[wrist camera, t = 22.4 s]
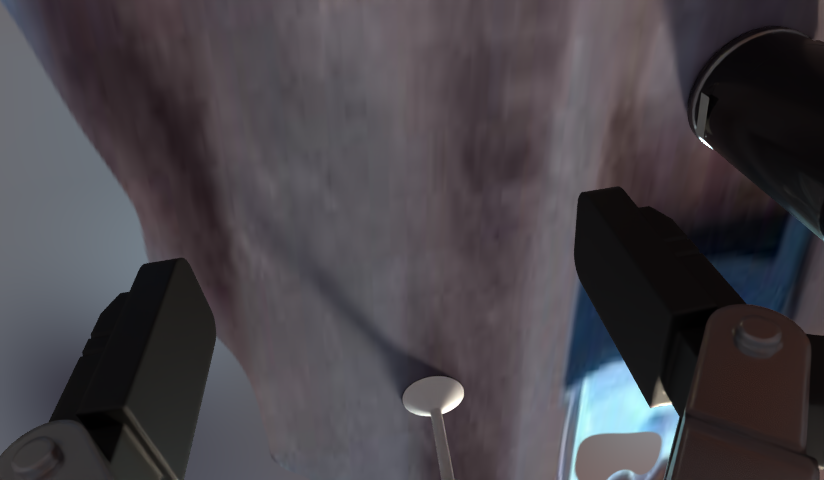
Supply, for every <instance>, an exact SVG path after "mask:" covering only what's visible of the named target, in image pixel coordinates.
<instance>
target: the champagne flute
mask: <svg viewBox="0 0 824 480" xmlns="http://www.w3.org/2000/svg"><path fill="white" fill-rule="evenodd" d="M463 396H464V390H463V387H462V385H461V384H460V383H459V382H458V381H456V380H454V379H452V378H449V377H444V376H433V377H427V378H423V379H421V380H418V381H416V382H415V383H413V384H412V385H410V386H409V387H408V388H407V389H406V390H405V392H404V394H403V398H402V400H403V404H404V406H405V408H406V409H407V410H409V411H410V412H412V413H414V414H417V415H422V416H431V419H432V425H433V431H434V437H435V443H436V449H437V455H438V461H439V467H440V473H441V479H442V480H457V479H454V475H453V470H452V465H451V459H450V454H449V449H448V443H447V438H446V432H445V427H444V422H443V416H442V414H443V413H446V412H448V411H450V410H452V409H454V408H455V407H456V406H457V405H458V404H459V403H460V402H461V401H462V399H463Z"/></svg>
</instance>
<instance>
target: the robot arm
mask: <svg viewBox="0 0 824 480" xmlns="http://www.w3.org/2000/svg"><path fill="white" fill-rule="evenodd" d="M687 113H688V121H689V124H690V127H691V129H692V131H693V133H694V134H695V135H696V136H697V137H698V138H699V139H700V140H701V141H702V142H703V143H705V144H706V145H707V146H709V147H710V148H712V149H714V150H715V151H716V152H718V153H719V154H720V155H721V156H722V157H724V158H725V159H726V160H727V161H728V162H729V163H730V164H732V165H733V166H734V167H735V168H736V169H738V170H739V171H740V172H741V173H742V174H744V175H745V176H746V177H747V178H748V179H750V180H751V181H752V182H753V183H755V184H756V185H757V186H758V187H759V188H761V189H762V190H763V191H764V192H765V193H767V194H768V195H769V196H770V197H771V198H773V199H774V200H775V201H776V202H777V203H779V204H780V205H781V206H782V207H783V208H785V209H786V210H787V211H788V212H790V213H791V214H792V215H793V216H794V217H796V218H797V219H798V220H799V221H800V222H802V223H803V224H804V225H805V226H806V227H808V228H809V229H810V230H811V231H812V232H814V233H815V234H816V235H817V236H818V237H820V238H821V239H822V240H823V241H824V42H823V41H820V40H816V41H814V40H812V39H810V38H809V37H808V36H806V35H804V34H803V33H800V32H798V31H796V30H793V29H791V28H787V27H781V26H771V27H764V28H759V29H756V30H753V31H750V32H748V33H745V34H743V35H741V36H739V37H738V38H736V39H734V40H733V41H731V42H730V43H728V44H727V45H726V46H724V47H723V48H722V49H721V50H720V51H719V52H717V53H716V54H715V55H714V56H713V57H712V58H711V59H710V61H709V62H708V63H707V64H706V65H705V67H704V68H703V70H702V71H701V73H700V74H699V76H698V77H697V79H696V81H695V83H694V85H693V88H692V90H691V93H690V97H689V101H688V111H687ZM574 260H575V266H576V271H577V274H578V277H579V279H580V281H581V283H582V285H583V287H584V289H585V291H586V292H587V294H588V296H589V298H590V300H591V302H592V303H593V305H594V307H595V309H596V311H597V312H598V314H599V316H600V318H601V320H602V321H603V323H604V325H605V327H606V329H607V331H608V332H609V334H610V336H611V338H612V340H613V341H614V343H615V345H616V347H617V349H618V351H619V352H620V354H621V356H622V358H623V360H624V361H625V363H626V365H627V367H628V369H629V370H630V372H631V374H632V376H633V378H634V380H635V381H636V383H637V385H638V387H639V389H640V390H641V392H642V394H643V396H644V398H645V399H646V401H647V403H648V405H649V407H650V408H653V407H658V406H664V405H670V404H672V405H673V406H674V408H675V410H676V411H677V413H678V415H679V416H680V417H679V420H678V424H677V428H676V432H675V436H674V440H673V444H672V448H671V452H670V456H669V460H668V464H667V468H666V472H665V476H664V480H820V473H819V469H823V470H824V336H820V335H810V334H805V332H804V331H803V330H802V329H801V328H800V327H799V326H798V325H797V324H796V323H795V322H793V321H792V320H790V319H789V318H787V317H786V316H784V315H782V314H780V313H778V312H776V311H773V310H771V309H768V308H764V307H761V306H756V305H748V304H746V303H745V302H744V300H743V299H742V298H741V297H740V296H739V295H738V294H737V292H736V291H735V290H734V289H733V288H732V287H731V286H730V284H729V283H728V282H727V281H726V280H725V279H724V278H723V277H722V275H721V274H720V273H719V272H718V271H717V270H716V269H715V267H714V266H713V265H712V264H711V263H710V262H709V261H708V259H707V258H706V257H705V256H704V255H703V254H702V253H701V254H700V253H699V249H698V248H697V247H696V246H695V245H694V243H693V242H692V241H691V240H690V239H687V235H686V234H685V233H684V232H683V231H682V230H681V229H680V227H679V226H678V225H677V224H676V223H675V222H674V221H673V219H671V218H669V217H668V216H666V215H664V214H662V213H660V212H659V211H657V210H655V209H653V208H652V207H650V206H647V207H641V208H638V207H637V206H636V204H635V203H634V202H633V201H632V200H631V198H630V197H629V196H628V195H627V193H626V192H625V191H624V190H623V189H622V188H621V187H619V186H617V187H611V188H605V189H599V190H593V191H587V192H582V193H581V194H580V195H579V198H578V205H577V219H576V232H575V246H574ZM215 341H216V326H215V320H214V316H213V313H212V311H211V309H210V306H209V304H208V302H207V300H206V298H205V296H204V294H203V292H202V290H201V287H200V285H199V283H198V281H197V279H196V277H195V275H194V273H193V271H192V268H191V266H190V265H189V263H188V262H187V260H186V259H184V258H177V259H171V260H165V261H159V262H153V263H147V264H143V265H142V266H141V267H140V269H139V271H138V274H137V276H136V278H135V281H134V283H133V285H132V287H131V290H130V292H125V293H120V294H119V295H118V296H117V297H116V298H115V299H114V301H112V302H111V303H110V305H109V306H108V307H107V308H106V309H105V310H104V311H103V312H102V313H101V314H100V316H99V318H98V321H97V323H96V325H95V327H94V329H93V331H92V333H91V339H88V341H87V343H86V345H85V348H84V350H83V352H82V353H83V357H80V358H79V360H78V362H77V364H76V366H75V368H74V370H73V373H72V375H71V377H70V379H69V381H68V383H67V385H66V387H65V389H64V391H63V393H62V395H61V398H60V400H59V402H58V404H57V406H56V408H55V410H54V412H53V414H52V417H51V418H50V420H49V422H48V423H45V424H43V425H41V426H38V427H36V428H34V429H32V430H31V431H29V432H27V433H25V434H24V435H22V436H21V437H20V438H18V439H17V440H16V441H15V442H13V443H12V444H11V445H10V446H9V447H8V448H7V449H6V450H5V451H4V452H3V453H2V454H1V456H0V480H184V476H185V472H186V467H187V463H188V459H189V454H190V449H191V446H192V441H193V437H194V433H195V428H196V424H197V420H198V415H199V411H200V406H201V402H202V398H203V394H204V389H205V385H206V381H207V376H208V372H209V367H210V363H211V359H212V354H213V350H214V346H215Z"/></svg>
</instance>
